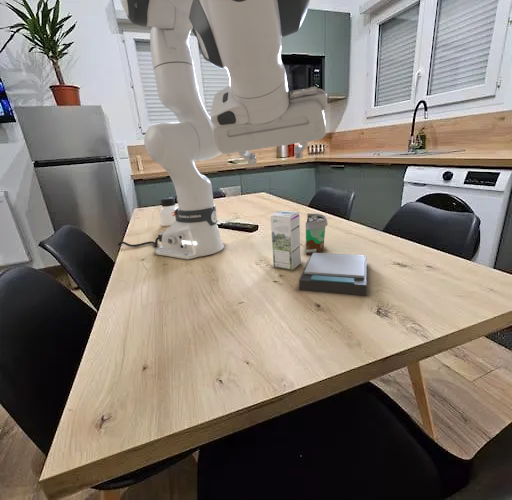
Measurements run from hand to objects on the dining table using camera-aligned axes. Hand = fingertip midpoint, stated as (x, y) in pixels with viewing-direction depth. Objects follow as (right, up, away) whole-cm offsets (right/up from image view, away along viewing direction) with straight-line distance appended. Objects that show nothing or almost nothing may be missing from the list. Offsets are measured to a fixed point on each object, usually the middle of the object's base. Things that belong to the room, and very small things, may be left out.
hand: (275, 159), depth 60 cm
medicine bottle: (-43, -6, +78) cm, 89 cm away
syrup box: (+4, -23, +20) cm, 31 cm away
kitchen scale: (+15, -25, +11) cm, 31 cm away
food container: (+15, -18, +30) cm, 38 cm away
